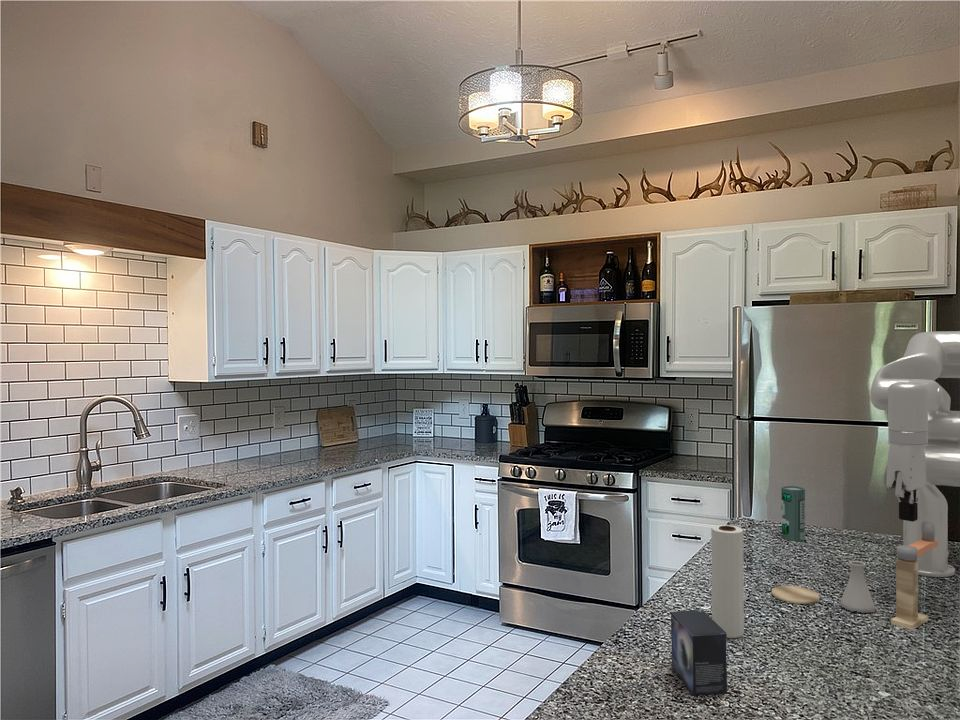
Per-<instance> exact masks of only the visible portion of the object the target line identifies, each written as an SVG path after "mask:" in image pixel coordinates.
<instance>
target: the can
mask: <svg viewBox="0 0 960 720" xmlns="http://www.w3.org/2000/svg"><path fill="white" fill-rule="evenodd" d="M780 491H781V538H782V539H784V540H787V541H790V542H802V541H805V540H806V488H805V487H802V486H796V485H795V486H794V485H785V486H781V490H780Z"/></svg>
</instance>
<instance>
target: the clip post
mask: <svg viewBox="0 0 960 720" xmlns="http://www.w3.org/2000/svg"><path fill="white" fill-rule="evenodd" d="M895 567H896V568H895V576H896V577H895V598H896V599H895V602H896V603H895V608H896V609H895V610H896V611H895V614H896V615H895V617H892V618H891V619H890V625H892V626H895V625H896V626H895V627H899V628H902V627H903V628H902V629H906V630H910V631H913V630H916V629H917V628H918V627H920V626H922V625H924V624H925V623H926V622H928V621H929V615H927V614H925V613H920V612H919V575H918V560H916V561H907V560H902V559H899V558H896V560H895Z"/></svg>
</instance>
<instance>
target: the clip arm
mask: <svg viewBox="0 0 960 720" xmlns="http://www.w3.org/2000/svg"><path fill="white" fill-rule="evenodd" d="M936 547H938V539H935V525H934V524H931V523H922V539H921V540H919V541H917V542H915V543H913V544H911V545H909V546H907V545H903V544H899V545H897V546H896V557H897V558H896V559H898V558H899V559H902V560H907V561H916V560H917V558H918V557H919V556H921V555H923V554H925V553H927V552H929V551H930V550H932V549H934V548H936Z"/></svg>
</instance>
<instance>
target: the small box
mask: <svg viewBox="0 0 960 720" xmlns="http://www.w3.org/2000/svg"><path fill="white" fill-rule="evenodd" d="M670 630H671V631H670V632H671V633H670V634H671V636H670V637H671V668H672V669H673V670H674V672H675V673H676V674H677V675H678V677H679V678H680V680H681V681H682V683H683V684H684V685H685V687H686V688H687V689H688V691H689V692H690V693H691V695H692V696H707V695H708V696H710V695H725V694H728V692H729V691H728V690H729V689H728V674H727V673H728V670H727V669H728V668H727V667H728V666H727V633H726V632H725V631H724V630H723V629H722V628H721V627H720V626H719V625H718V624H717V623H716V622H715V621H714V620H713V619H712V617H711V616H710V615H708V613H707V612H705V611H704V610H703V609H692V610H691V609H689V610H677V611H670Z"/></svg>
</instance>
